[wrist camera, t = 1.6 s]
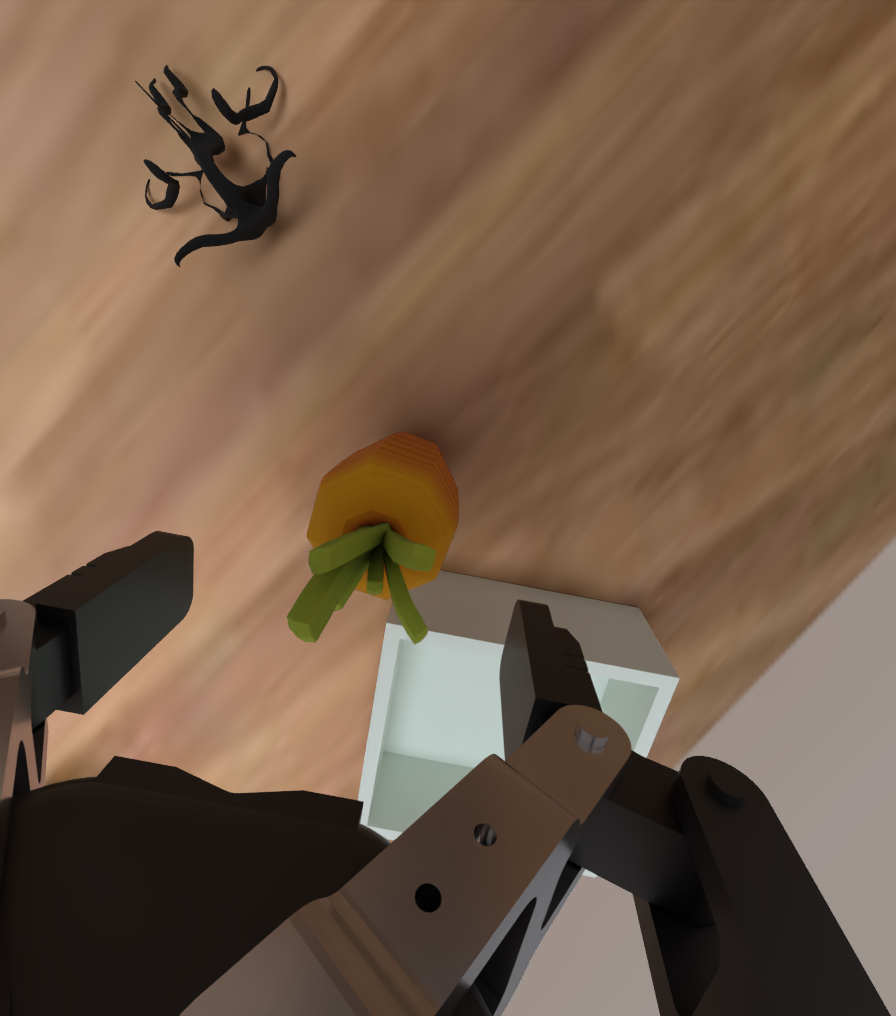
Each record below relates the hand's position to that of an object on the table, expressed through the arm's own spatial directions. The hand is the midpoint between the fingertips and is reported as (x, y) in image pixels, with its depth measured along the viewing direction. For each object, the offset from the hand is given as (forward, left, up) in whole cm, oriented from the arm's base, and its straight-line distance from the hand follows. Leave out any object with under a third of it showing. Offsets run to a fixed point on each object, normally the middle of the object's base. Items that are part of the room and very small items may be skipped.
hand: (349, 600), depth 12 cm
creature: (-12, -10, -15) cm, 21 cm away
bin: (+13, +7, -15) cm, 21 cm away
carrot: (0, 0, -15) cm, 15 cm away
